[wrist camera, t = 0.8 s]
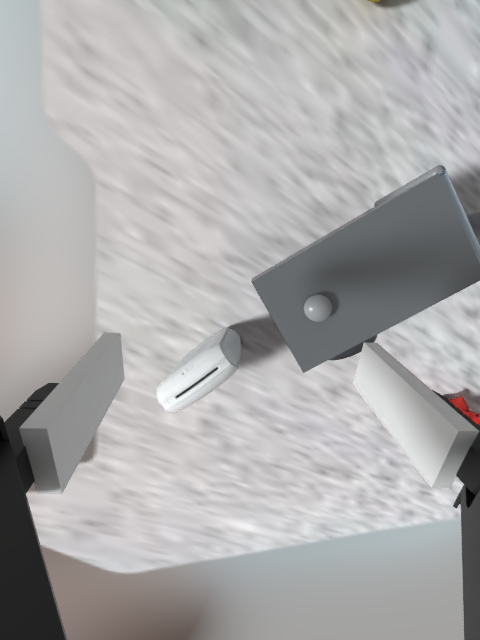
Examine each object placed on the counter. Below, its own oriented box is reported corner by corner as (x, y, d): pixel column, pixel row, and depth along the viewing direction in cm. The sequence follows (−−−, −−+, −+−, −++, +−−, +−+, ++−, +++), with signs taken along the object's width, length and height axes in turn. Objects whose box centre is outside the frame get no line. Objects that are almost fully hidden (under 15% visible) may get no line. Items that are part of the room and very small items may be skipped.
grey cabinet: (252, 278, 39) (251, 282, 25) (370, 209, 37) (446, 168, 22) (292, 350, 41) (315, 393, 26) (409, 287, 39) (504, 296, 24)
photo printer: (192, 383, 42) (168, 428, 30) (174, 361, 42) (143, 397, 30) (247, 345, 41) (244, 375, 29) (229, 321, 41) (219, 342, 28)
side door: (373, 203, 36) (431, 169, 24) (443, 162, 35) (540, 105, 23) (408, 274, 37) (479, 275, 25) (476, 237, 36) (585, 219, 24)
